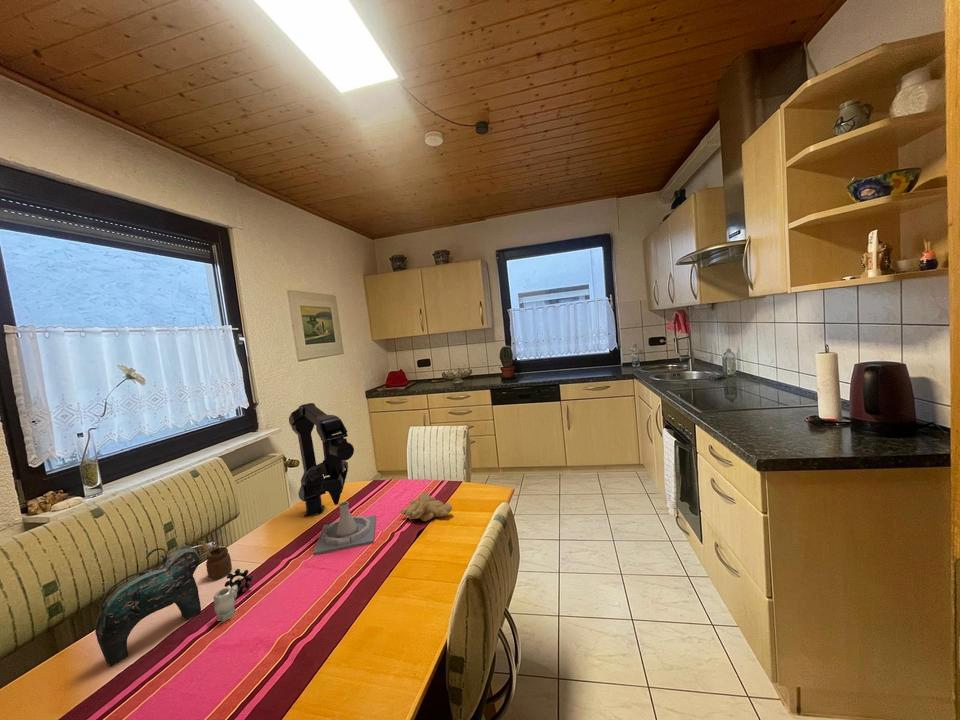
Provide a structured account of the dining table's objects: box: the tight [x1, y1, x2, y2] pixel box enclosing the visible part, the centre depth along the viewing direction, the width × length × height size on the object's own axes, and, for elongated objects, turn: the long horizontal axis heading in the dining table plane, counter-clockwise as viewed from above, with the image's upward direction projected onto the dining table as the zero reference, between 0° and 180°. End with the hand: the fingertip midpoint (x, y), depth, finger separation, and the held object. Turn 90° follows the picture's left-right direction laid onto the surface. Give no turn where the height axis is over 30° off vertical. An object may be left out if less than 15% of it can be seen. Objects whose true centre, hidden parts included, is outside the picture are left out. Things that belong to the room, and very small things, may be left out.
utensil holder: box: [200, 534, 233, 581], centre depth 113 cm, size 6×6×12 cm
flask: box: [336, 501, 358, 537], centre depth 129 cm, size 7×7×10 cm
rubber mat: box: [312, 515, 377, 556], centre depth 129 cm, size 18×18×1 cm
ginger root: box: [399, 491, 453, 522], centre depth 137 cm, size 16×16×8 cm
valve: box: [213, 568, 254, 623], centre depth 98 cm, size 7×7×12 cm
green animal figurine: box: [94, 541, 202, 667], centre depth 90 cm, size 20×6×20 cm, turn 150°
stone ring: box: [322, 515, 371, 546], centre depth 129 cm, size 15×15×2 cm
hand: (338, 498), depth 131 cm, fingers open, 9 cm apart
